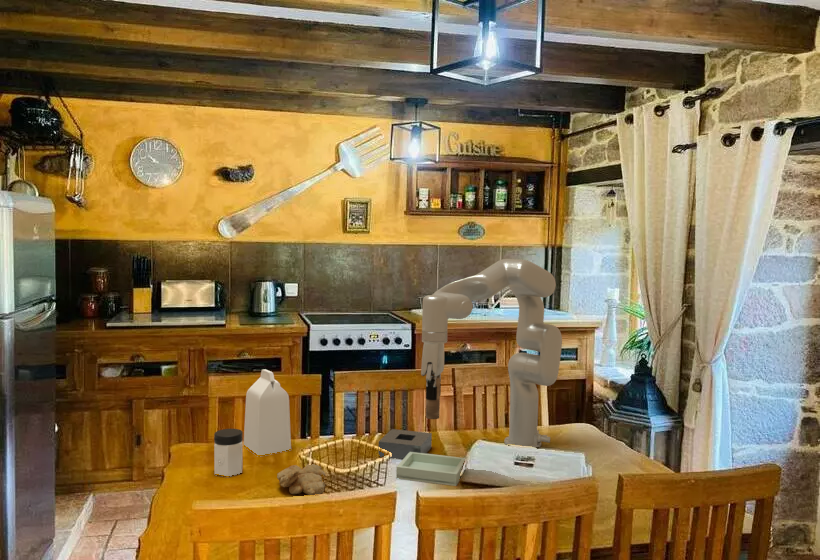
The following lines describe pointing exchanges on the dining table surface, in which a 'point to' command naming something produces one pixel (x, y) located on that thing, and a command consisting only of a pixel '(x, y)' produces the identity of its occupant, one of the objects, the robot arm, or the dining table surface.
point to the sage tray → (430, 468)
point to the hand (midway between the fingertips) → (433, 397)
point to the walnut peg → (434, 403)
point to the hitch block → (405, 443)
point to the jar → (228, 452)
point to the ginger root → (302, 479)
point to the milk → (267, 416)
